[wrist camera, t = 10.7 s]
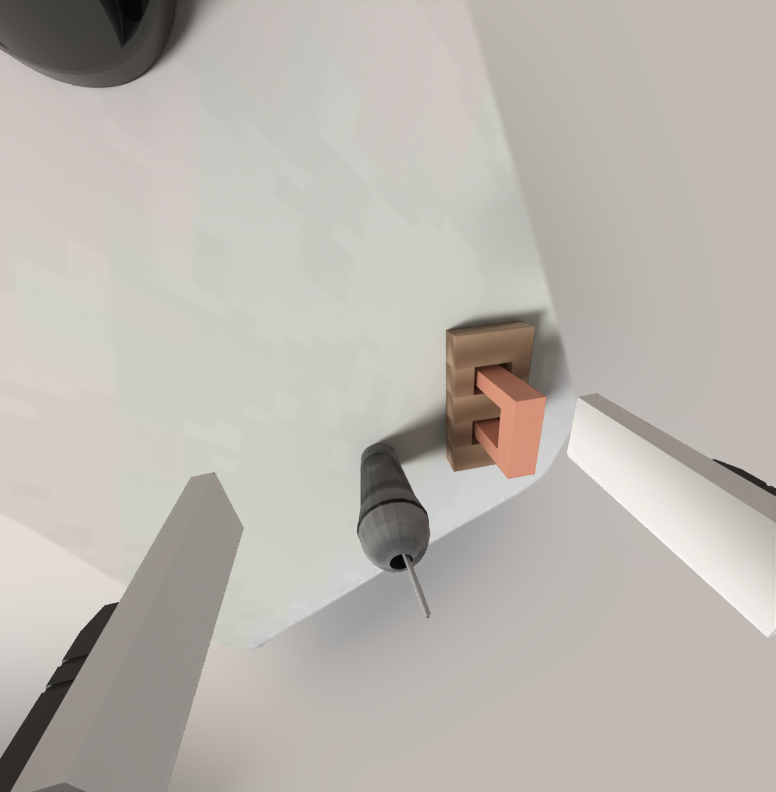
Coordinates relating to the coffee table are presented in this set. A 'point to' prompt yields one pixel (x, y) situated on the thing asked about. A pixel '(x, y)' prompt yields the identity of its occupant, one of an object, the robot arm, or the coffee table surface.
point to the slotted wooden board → (464, 397)
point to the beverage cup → (391, 517)
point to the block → (510, 421)
